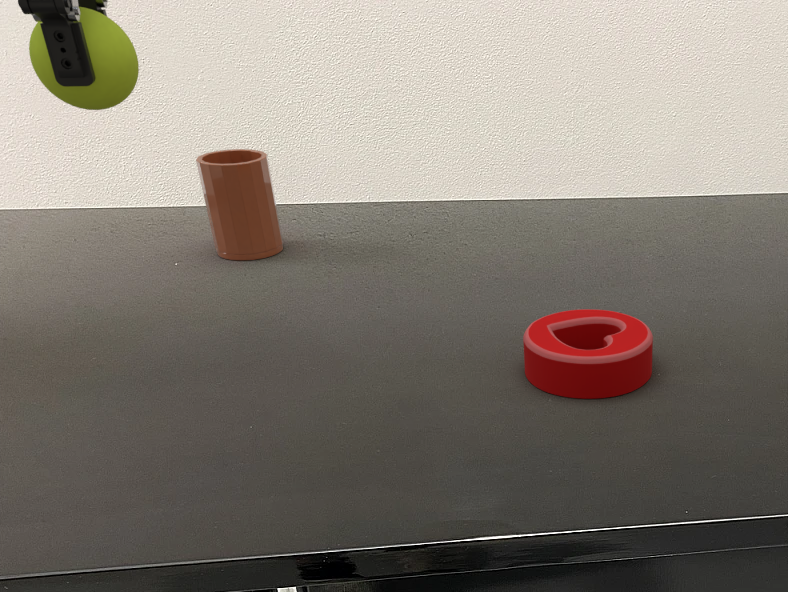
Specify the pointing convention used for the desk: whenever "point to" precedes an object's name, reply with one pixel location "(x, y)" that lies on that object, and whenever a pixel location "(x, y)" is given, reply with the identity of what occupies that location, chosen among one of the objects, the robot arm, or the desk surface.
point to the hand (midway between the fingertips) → (89, 75)
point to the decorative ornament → (588, 353)
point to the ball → (108, 59)
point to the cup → (240, 203)
